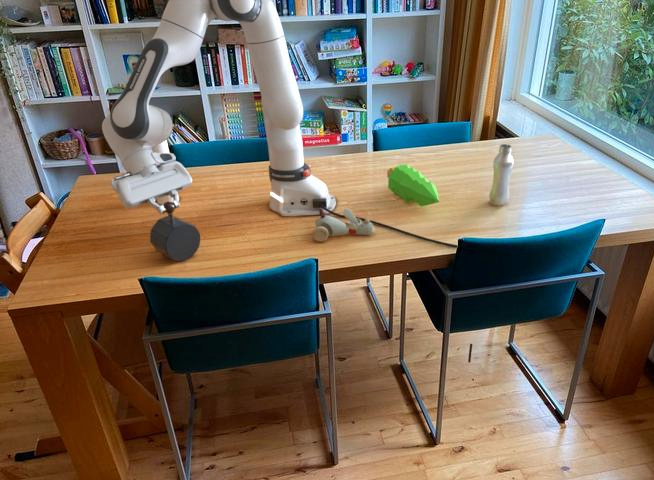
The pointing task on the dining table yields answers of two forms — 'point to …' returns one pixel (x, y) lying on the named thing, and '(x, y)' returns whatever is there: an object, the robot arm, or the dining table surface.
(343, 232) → the toy dog
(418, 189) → the decorative tree
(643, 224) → the dining table surface
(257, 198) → the dining table surface
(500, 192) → the plastic bottle
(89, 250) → the dining table surface
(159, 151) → the cylindrical container
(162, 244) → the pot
